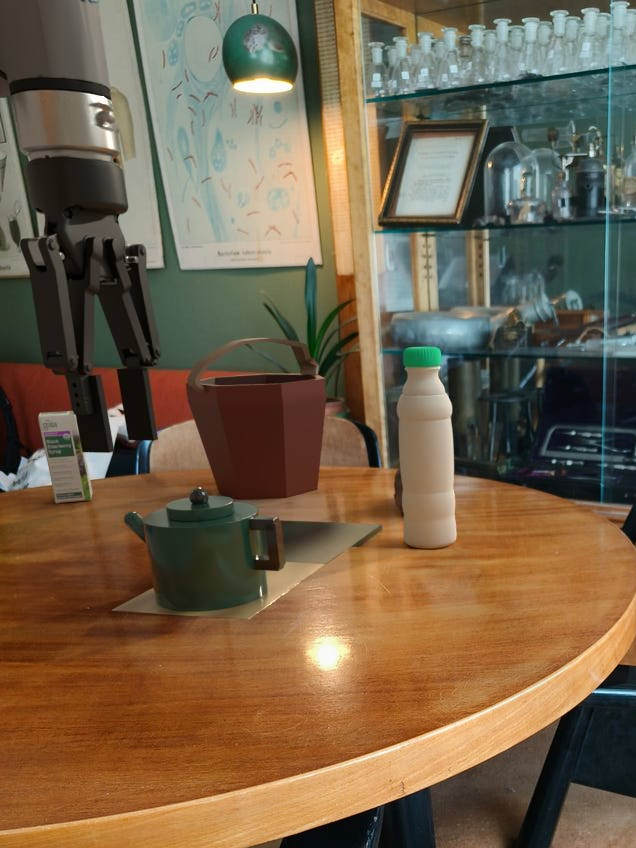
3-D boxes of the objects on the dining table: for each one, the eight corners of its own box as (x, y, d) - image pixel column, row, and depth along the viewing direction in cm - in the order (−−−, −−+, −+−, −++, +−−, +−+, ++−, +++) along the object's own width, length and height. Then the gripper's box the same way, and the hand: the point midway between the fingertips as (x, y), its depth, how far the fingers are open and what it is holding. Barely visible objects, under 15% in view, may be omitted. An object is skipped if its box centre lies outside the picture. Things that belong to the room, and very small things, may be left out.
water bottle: (394, 547, 117) (382, 348, 108) (420, 534, 123) (411, 345, 114) (441, 552, 114) (433, 349, 105) (465, 538, 120) (459, 345, 111)
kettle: (104, 606, 94) (83, 497, 90) (167, 573, 105) (151, 474, 101) (260, 616, 90) (246, 502, 86) (309, 581, 101) (299, 478, 97)
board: (111, 617, 94) (110, 610, 93) (279, 525, 130) (279, 520, 129) (249, 626, 90) (248, 619, 90) (382, 529, 126) (382, 524, 126)
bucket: (315, 471, 169) (302, 333, 160) (362, 491, 151) (351, 337, 142) (185, 487, 157) (164, 340, 148) (220, 510, 140) (198, 344, 130)
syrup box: (54, 504, 147) (36, 415, 142) (57, 497, 152) (40, 411, 147) (91, 500, 149) (75, 412, 144) (93, 494, 154) (77, 409, 149)
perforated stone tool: (398, 497, 145) (396, 455, 143) (430, 496, 146) (428, 454, 143) (392, 519, 131) (389, 472, 129) (428, 518, 132) (425, 471, 129)
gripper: (30, 140, 63) (90, 465, 71) (177, 171, 80) (212, 430, 88) (-57, 146, 65) (12, 463, 73) (105, 176, 82) (146, 430, 90)
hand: (121, 445), depth 81 cm, fingers open, 6 cm apart
